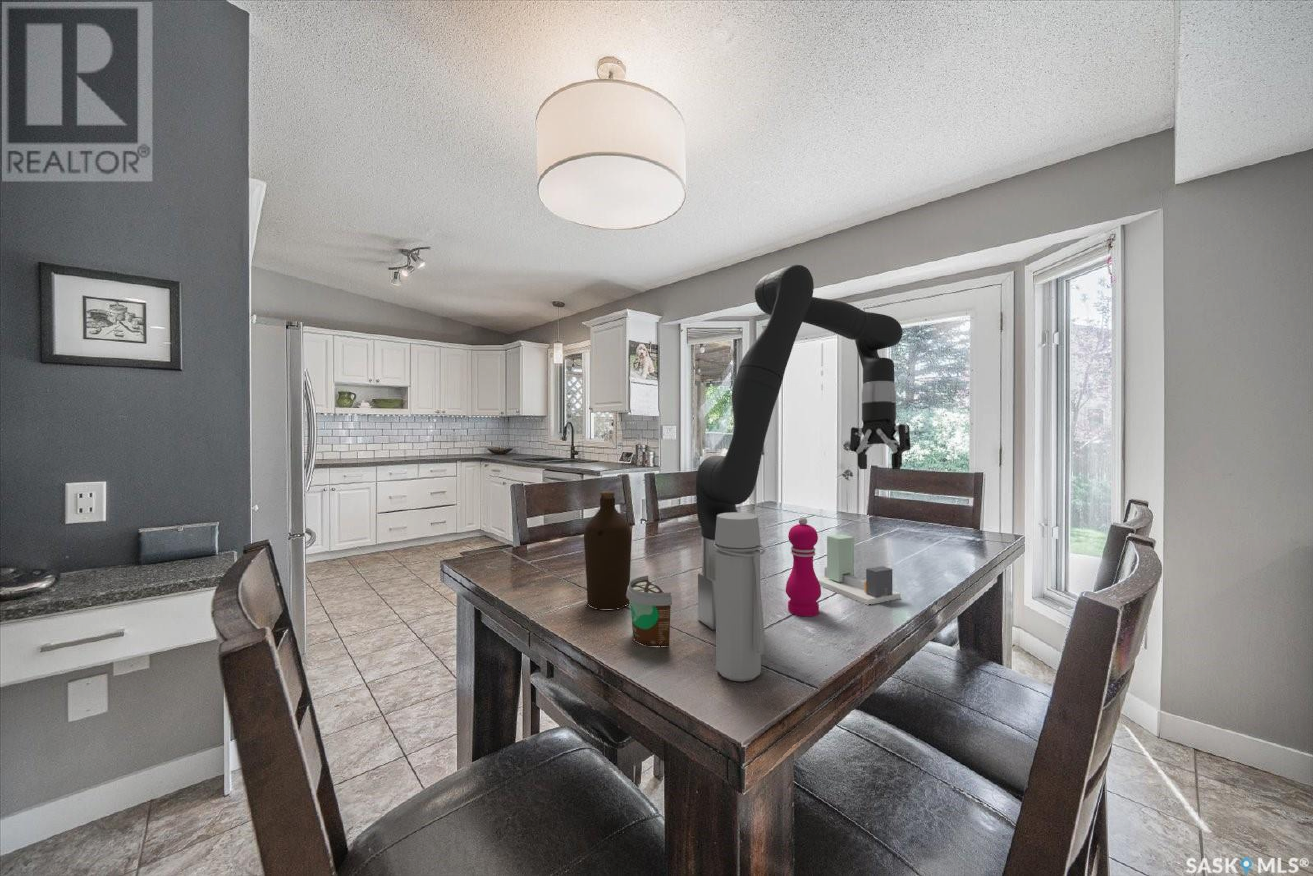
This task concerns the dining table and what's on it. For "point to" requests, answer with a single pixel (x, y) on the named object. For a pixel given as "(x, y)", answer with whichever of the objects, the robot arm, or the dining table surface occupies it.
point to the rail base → (864, 586)
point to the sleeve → (840, 556)
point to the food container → (649, 612)
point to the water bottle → (738, 596)
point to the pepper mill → (803, 571)
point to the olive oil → (607, 556)
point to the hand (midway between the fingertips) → (879, 469)
